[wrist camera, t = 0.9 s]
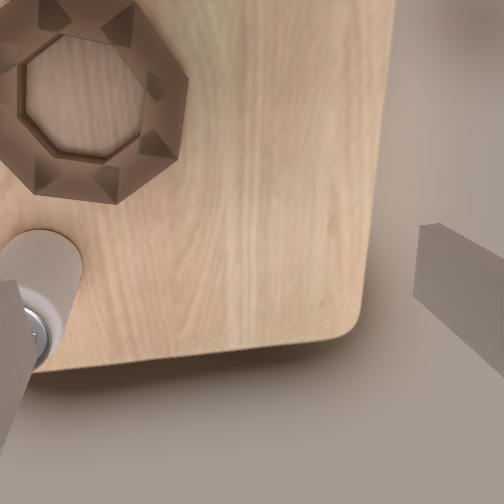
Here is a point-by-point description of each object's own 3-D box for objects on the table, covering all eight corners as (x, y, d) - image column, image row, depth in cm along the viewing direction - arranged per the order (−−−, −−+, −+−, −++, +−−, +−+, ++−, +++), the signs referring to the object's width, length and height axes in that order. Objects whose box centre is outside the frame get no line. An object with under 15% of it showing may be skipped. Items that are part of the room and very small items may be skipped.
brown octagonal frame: (-67, 72, 32) (-83, 73, 30) (95, -55, 31) (91, -63, 29) (78, 225, 38) (74, 236, 36) (217, 123, 37) (221, 127, 35)
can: (8, 219, 37) (-51, 285, 26) (90, 237, 39) (67, 306, 28) (-3, 288, 39) (-62, 376, 28) (76, 302, 41) (49, 389, 30)
